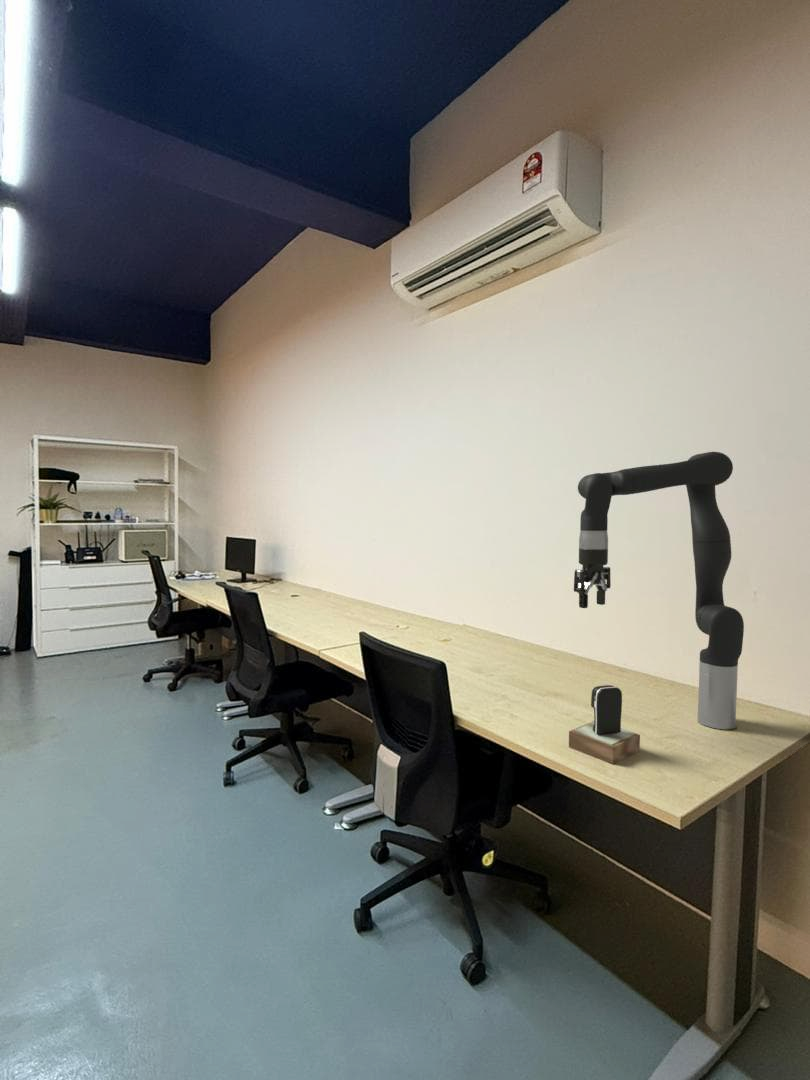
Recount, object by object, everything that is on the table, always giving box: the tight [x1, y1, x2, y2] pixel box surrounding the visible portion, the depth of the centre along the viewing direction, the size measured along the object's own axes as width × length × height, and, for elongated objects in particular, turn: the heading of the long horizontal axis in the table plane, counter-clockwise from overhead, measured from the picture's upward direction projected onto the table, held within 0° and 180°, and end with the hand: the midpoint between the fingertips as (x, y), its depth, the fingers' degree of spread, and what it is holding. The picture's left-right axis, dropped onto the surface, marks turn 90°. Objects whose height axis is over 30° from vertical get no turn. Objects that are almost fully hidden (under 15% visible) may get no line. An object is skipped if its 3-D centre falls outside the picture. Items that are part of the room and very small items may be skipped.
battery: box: [590, 684, 623, 735], centre depth 136 cm, size 7×4×11 cm, turn 106°
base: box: [568, 721, 641, 765], centre depth 136 cm, size 12×12×4 cm
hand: (592, 606), depth 151 cm, fingers open, 8 cm apart
